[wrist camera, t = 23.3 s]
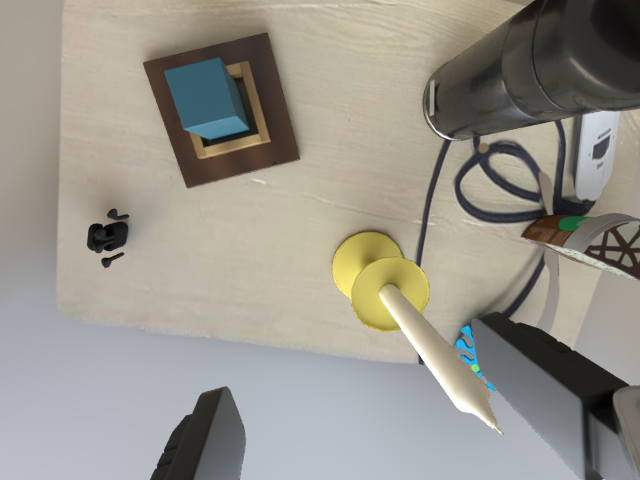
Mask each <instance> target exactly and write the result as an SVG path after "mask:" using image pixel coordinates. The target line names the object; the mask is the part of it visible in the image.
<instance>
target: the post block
mask: <svg viewBox="0 0 640 480" xmlns="http://www.w3.org/2000/svg"><path fill="white" fill-rule="evenodd" d="M164 73H165V75H166V78H167V81H168V84H169V87H170V90H171V93H172V96H173V99H174V102H175V105H176V108H177V111H178V114H179V117H180V120H181V123H182V126H183V129H185V130H187V131H189V132H192V133H194V134H197V135H199V136H201V137H204V138H206V139H209V140H211V141H212V140H216V139H220V138H224V137H228V136H232V135H236V134H240V133H244V132H248V131H251V128H250V125H249V121H248V118H247V114H246V111H245V108H244V104H243V101H242V97H241V94H240V90H239V87H238V86H237V84H236V83H235V81H234V79H233V78H232V76H231V75H230V73H229V71H228V70H227V68H226V67H225V65H224V63H223V62H222V60H221V59H220V57H218V58H214V59H210V60H206V61H202V62H198V63H193V64H189V65H185V66H181V67H177V68H173V69H169V70H165V71H164Z"/></svg>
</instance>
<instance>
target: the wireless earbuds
mask: <svg viewBox="0 0 640 480" xmlns="http://www.w3.org/2000/svg"><path fill="white" fill-rule="evenodd" d="M107 217H109V218H111V219H114V220H122V219H126V218H129V215H128V214H126V215H122V216H117V210H116V209H111V210H110V211H109V212H108V214H107ZM127 232H128V226H127V224H126V223H124V222H116V223H112V224H109V225H106V226H104V228H103V225H102V224H98V223H96V224H92V225H91V226H90V227H89V231H88V240H87V246H88V248H89V249H90V250H93V251H95V252H96V253H101V252H102V251H103V249H104V250H106V251H112V250H114V249H117V248H119V247H122V246H123V245H125V243H126V239H127ZM123 255H124V253H123V252H121V253H119V254H117V255H115V256H112V257H110V258H103V259H102V260H101V262H102V265H103V266H104V267H105V268H108V267H109V266H110V264H111V261H113V260H115V259H117V258H119V257H121V256H123Z"/></svg>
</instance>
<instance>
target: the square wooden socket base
mask: <svg viewBox="0 0 640 480" xmlns="http://www.w3.org/2000/svg"><path fill="white" fill-rule="evenodd" d="M218 57H220V59H221V60H222V62H223V63H224V65H225V67H226V68H227V70H228V71H229V73H230V75H231V76H232V78H233V79H234V81H235V83H236V84H237V86H238V87H239V90H240V94H241V97H242V101H243V104H244V108H245V111H246V114H247V118H248V121H249V125H250V128H251V131H248V132H244V133H240V134H236V135H232V136H228V137H224V138H220V139H216V140H212V141H211V140H209V139H206V138H204V137H201V136H199V135H197V134H194V133H192V132H189V131H187V130H185V129H183V126H182V123H181V120H180V117H179V114H178V111H177V108H176V105H175V102H174V99H173V96H172V93H171V90H170V87H169V84H168V81H167V78H166V75H165V73H164V71H165V70H169V69H173V68H177V67H181V66H185V65H189V64H193V63H198V62H202V61H206V60H210V59H214V58H218ZM143 65H144V68H145V71H146V74H147V76H148V79H149V82H150V85H151V88H152V91H153V93H154V96H155V99H156V102H157V105H158V108H159V110H160V113H161V116H162V119H163V122H164V125H165V127H166V130H167V133H168V136H169V139H170V142H171V144H172V147H173V150H174V153H175V156H176V158H177V161H178V164H179V167H180V170H181V173H182V175H183V178H184V181H185V184H186V187H187V188H192V187H196V186H200V185H204V184H208V183H212V182H216V181H220V180H224V179H227V178H231V177H235V176H239V175H243V174H247V173H251V172H255V171H259V170H262V169H266V168H270V167H274V166H278V165H282V164H286V163H290V162H293V161H297V160H300V157H299V154H298V150H297V146H296V142H295V138H294V134H293V130H292V126H291V123H290V119H289V115H288V111H287V107H286V103H285V99H284V95H283V92H282V88H281V84H280V80H279V76H278V72H277V68H276V64H275V61H274V57H273V53H272V49H271V45H270V41H269V37H268V33H262V34H258V35H254V36H250V37H246V38H242V39H238V40H234V41H230V42H225V43H221V44H217V45H213V46H209V47H205V48H201V49H197V50H193V51H188V52H184V53H180V54H176V55H172V56H168V57H164V58H160V59H155V60H151V61H147V62H143Z"/></svg>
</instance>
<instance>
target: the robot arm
mask: <svg viewBox="0 0 640 480" xmlns="http://www.w3.org/2000/svg"><path fill="white" fill-rule="evenodd" d="M636 109H640V0H535V1H533V2H532V3H531V4H529V5H528V6H527V7H525V8H524V9H522V10H521V11H520V12H518V13H517V14H515V15H514V16H513V17H511V18H510V19H508V20H507V21H506V22H504V23H503V24H502V25H500V26H499V27H497V28H496V29H495V30H493V31H492V32H490V33H489V34H488V35H486V36H485V37H483V38H482V39H481V40H479V41H478V42H477V43H475V44H474V45H472V46H471V47H470V48H468V49H467V50H465V51H464V52H463V53H461V54H460V55H458V56H457V57H455V58H454V59H453V60H451V61H449V62H447V63H446V64H444V65H443V66H441V67H440V68H439V69H438V70H437V71H436V72H435V73H434V74H433V75H432V77H431V78H430V80H429V81H428V83H427V86H426V88H425V91H424V95H423V112H424V116H425V119H426V122H427V124H428V125H429V127H430V128H431V129H432V131H433V132H434V133H435V134H437V135H438V136H440V137H441V138H443V139H446V140H450V141H462V140H467V139H470V138H473V137H478V136H483V135H488V134H493V133H498V132H503V131H508V130H513V129H517V128H522V127H527V126H532V125H537V124H542V123H547V122H552V121H556V120H561V119H565V118H570V117H575V116H580V115H585V114H589V113H594V112H599V111H629V110H636ZM471 325H472V332H473V339H474V346H475V353H476V360H477V363H478V366H479V368H480V370H481V372H482V374H483V376H484V377H485V378H486V380H487V381H488V382H489V383H490V384H491V385H492V386H493V387H494V388H495V389H496V390H497V392H498V393H499V394H500V395H501V396H502V397H503V398H504V399H505V400H506V401H507V402H508V403H509V404H510V405H511V406H512V407H513V408H514V410H515V411H516V412H517V413H518V414H519V415H520V416H521V417H522V418H523V419H524V420H525V421H526V422H527V423H528V425H529V426H530V427H531V428H532V429H533V430H534V431H535V432H536V433H537V434H538V435H539V436H540V437H541V438H542V439H543V441H544V442H545V443H546V444H547V445H548V446H549V447H550V448H551V449H552V450H553V451H554V452H555V453H556V454H557V455H558V456H559V457H560V459H561V460H562V461H563V462H564V463H565V464H566V465H567V466H568V467H569V468H570V469H571V470H572V471H573V472H574V474H575V475H576V476H577V477H578V478H579V479H580V480H602V479H604V480H640V386H630V385H629V384H627V383H625V382H624V381H622V380H621V379H619V378H617V377H616V376H614V375H613V374H611V373H610V372H608V371H606V370H605V369H603V368H601V367H600V366H598V365H597V364H595V363H594V362H592V361H590V360H589V359H587V358H586V357H584V356H582V355H581V354H579V353H578V352H576V351H572V350H571V348H570V347H568V346H566V345H565V344H563V343H562V342H558V341H557V339H555V338H554V337H552V336H551V335H549V334H547V333H546V332H544V331H542V330H541V329H538V328H536V327H533V326H530V325H527V324H524V323H521V322H520V323H517V324H516V323H514V322H513V321H511V320H510V319H508V318H507V317H505V316H504V315H502V314H501V313H499V312H493V313H489V314H485V315H482V316H478V317H475V318H473V319H472V321H471ZM245 438H246V437H245V430H244V425H243V423H242V420H241V418H240V415H239V412H238V410H237V407H236V404H235V402H234V399H233V397H232V394H231V391H230V390H229V388H228V387H222V388H218V389H214V390H211V391H207V392H204V393H202V394H201V395H200V397H199V399H198V401H197V404H196V406H195V408H194V411H193V413H192V414H190V415H186V416H185V417H184V419H183V420H182V421H181V423H180V424H179V425H178V426H177V427H176V428H175V430H174V431H173V432H172V434H171V436H170V439H169V441H168V443H167V445H166V447H165V449H164V453H163V454H162V455H161V458H160V460H159V462H158V464H157V469H155V470H154V472H153V474H152V477H151V479H150V480H240V475H241V470H242V464H243V458H244V453H245V446H246V439H245Z"/></svg>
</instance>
